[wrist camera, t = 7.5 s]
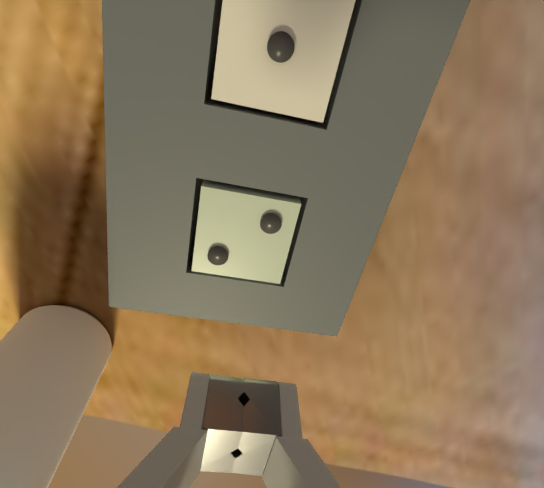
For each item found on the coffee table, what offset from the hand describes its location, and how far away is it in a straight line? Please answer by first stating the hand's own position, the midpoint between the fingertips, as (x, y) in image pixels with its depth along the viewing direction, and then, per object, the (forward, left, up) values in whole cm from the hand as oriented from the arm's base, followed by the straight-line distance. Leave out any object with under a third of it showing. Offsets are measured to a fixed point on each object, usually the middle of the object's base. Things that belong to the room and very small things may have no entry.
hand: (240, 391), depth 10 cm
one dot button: (0, -9, -12) cm, 15 cm away
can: (+11, +12, -13) cm, 21 cm away
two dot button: (0, 0, -12) cm, 13 cm away
